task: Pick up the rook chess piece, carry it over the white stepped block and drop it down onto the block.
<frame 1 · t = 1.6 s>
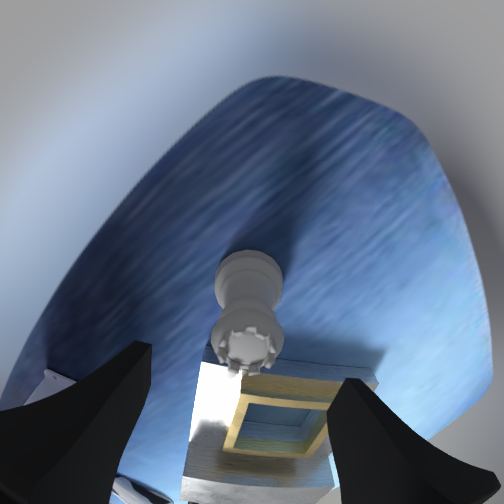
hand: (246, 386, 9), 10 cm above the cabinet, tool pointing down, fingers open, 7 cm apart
white stepped block: (263, 433, 24), on the cabinet
computer mouse: (125, 480, 30), on the cabinet
rook chess piece: (248, 278, 19), on the cabinet
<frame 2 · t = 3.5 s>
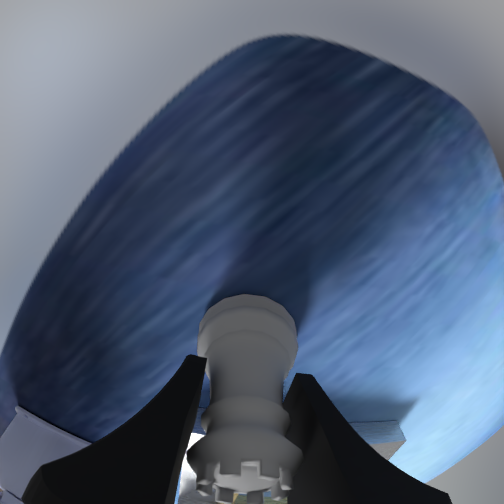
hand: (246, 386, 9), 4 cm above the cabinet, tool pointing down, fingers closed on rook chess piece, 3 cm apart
white stepped block: (265, 485, 18), on the cabinet
rook chess piece: (247, 330, 13), on the cabinet, touching gripper
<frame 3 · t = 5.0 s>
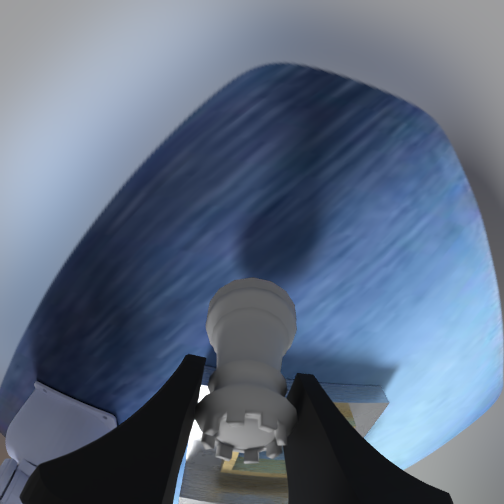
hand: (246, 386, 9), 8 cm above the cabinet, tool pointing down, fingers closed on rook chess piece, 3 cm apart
white stepped block: (265, 451, 22), on the cabinet
rook chess piece: (252, 312, 15), point 2 cm above the cabinet, touching gripper
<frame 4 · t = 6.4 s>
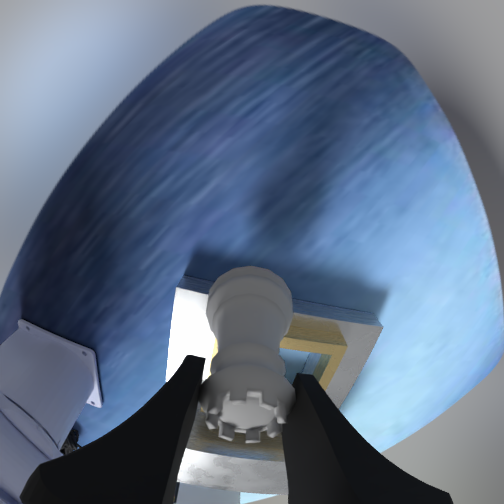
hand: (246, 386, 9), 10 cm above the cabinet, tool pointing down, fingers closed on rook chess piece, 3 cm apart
medicine bottle: (205, 473, 27), on the cabinet
white stepped block: (251, 397, 22), on the cabinet
computer mouse: (113, 464, 29), on the cabinet
rook chess piece: (250, 299, 15), point 4 cm above the cabinet, touching gripper
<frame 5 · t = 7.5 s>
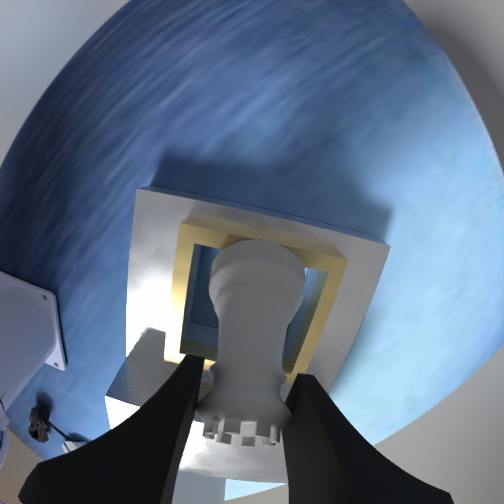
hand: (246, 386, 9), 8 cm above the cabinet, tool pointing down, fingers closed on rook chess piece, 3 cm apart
medicine bottle: (186, 459, 24), on the cabinet
white stepped block: (233, 352, 19), on the cabinet
computer mouse: (90, 449, 26), on the cabinet
rook chess piece: (258, 267, 14), point 3 cm above the cabinet, touching white stepped block, gripper
when the fingers open (8 cm above the cabinet, at t = 7.9 s): rook chess piece drops 1 cm, resting on white stepped block.
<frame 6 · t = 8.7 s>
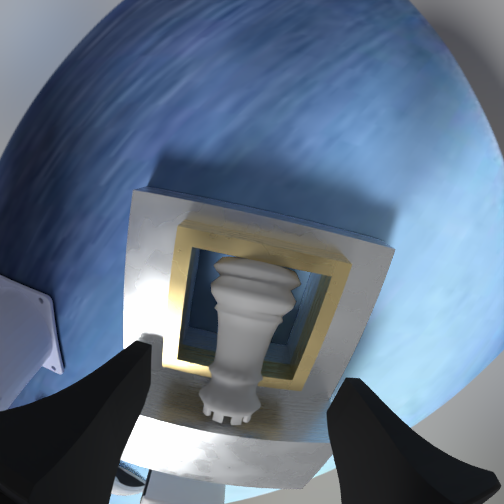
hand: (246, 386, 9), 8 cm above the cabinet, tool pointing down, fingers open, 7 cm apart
medicine bottle: (186, 462, 24), on the cabinet
white stepped block: (232, 357, 18), on the cabinet
computer mouse: (91, 452, 25), on the cabinet
rook chess piece: (259, 262, 14), point 2 cm above the cabinet, touching white stepped block
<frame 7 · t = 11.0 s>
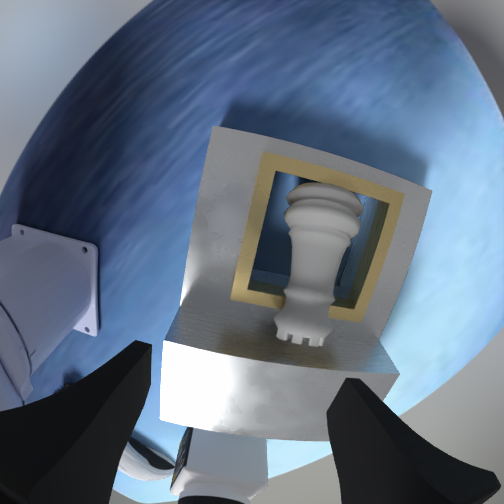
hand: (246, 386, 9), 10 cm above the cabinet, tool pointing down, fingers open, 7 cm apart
medicine bottle: (220, 434, 25), on the cabinet
white stepped block: (288, 299, 20), on the cabinet
computer mouse: (118, 434, 26), on the cabinet
rook chess piece: (326, 194, 16), point 2 cm above the cabinet, touching white stepped block
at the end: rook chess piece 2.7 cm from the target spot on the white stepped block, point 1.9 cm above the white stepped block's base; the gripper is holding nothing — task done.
